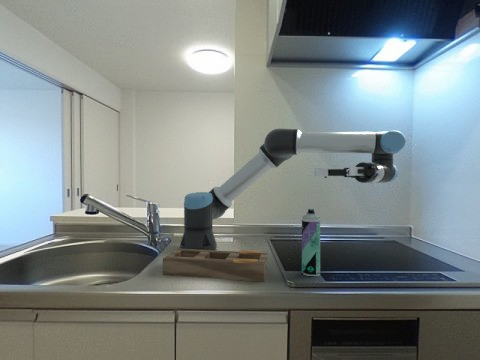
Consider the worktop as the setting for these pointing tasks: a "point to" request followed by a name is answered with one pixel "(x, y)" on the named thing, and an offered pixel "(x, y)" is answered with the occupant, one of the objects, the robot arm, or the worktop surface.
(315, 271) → the spray can
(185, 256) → the rack
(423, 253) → the worktop surface
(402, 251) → the worktop surface
